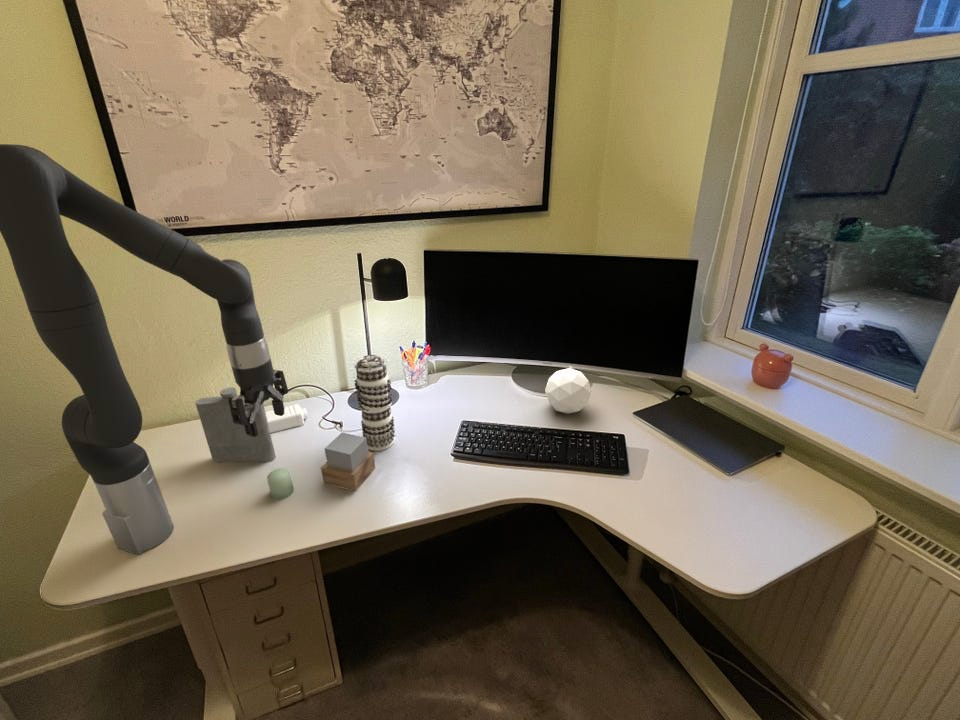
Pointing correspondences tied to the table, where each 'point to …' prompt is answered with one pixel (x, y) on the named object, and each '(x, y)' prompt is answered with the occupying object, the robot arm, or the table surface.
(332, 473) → the base block
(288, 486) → the rounded mint cylinder
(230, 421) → the hip flask
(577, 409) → the geodesic sphere
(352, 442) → the gray block
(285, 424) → the white bottle
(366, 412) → the decorative candle
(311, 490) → the table surface
